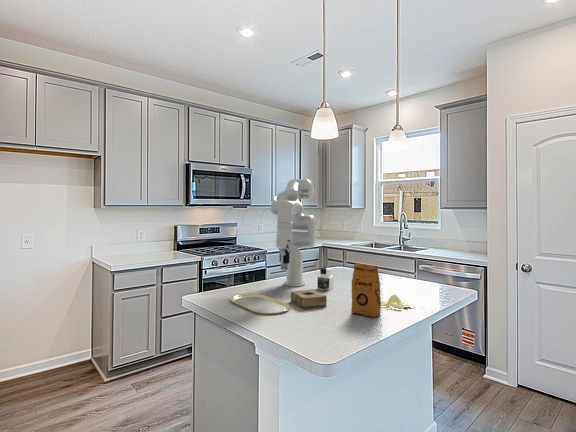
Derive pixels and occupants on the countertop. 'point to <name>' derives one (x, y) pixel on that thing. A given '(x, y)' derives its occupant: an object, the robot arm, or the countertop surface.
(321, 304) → the bore block
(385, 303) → the cloth
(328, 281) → the medicine bottle
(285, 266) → the pin
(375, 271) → the coffee package
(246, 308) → the wavy rubber band
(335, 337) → the countertop surface
